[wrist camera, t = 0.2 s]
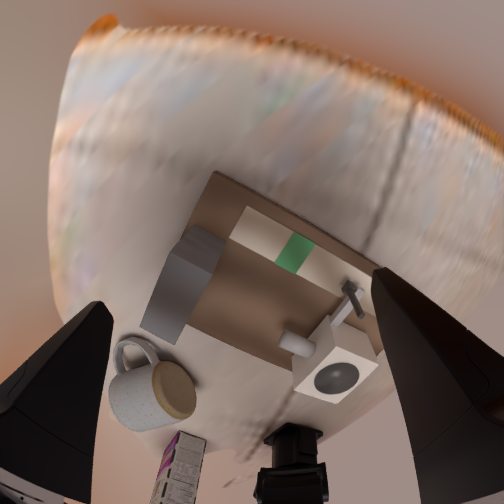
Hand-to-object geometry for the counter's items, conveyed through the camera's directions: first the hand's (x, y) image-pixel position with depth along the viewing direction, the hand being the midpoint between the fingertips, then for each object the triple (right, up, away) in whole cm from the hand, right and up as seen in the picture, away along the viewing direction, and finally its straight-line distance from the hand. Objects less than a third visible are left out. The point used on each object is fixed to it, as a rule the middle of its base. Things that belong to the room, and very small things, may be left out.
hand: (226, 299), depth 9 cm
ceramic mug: (-11, -13, +23) cm, 28 cm away
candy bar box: (-10, -31, +30) cm, 44 cm away
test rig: (+5, -3, +17) cm, 18 cm away
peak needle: (+9, -1, +14) cm, 17 cm away
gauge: (+8, -5, +17) cm, 19 cm away
